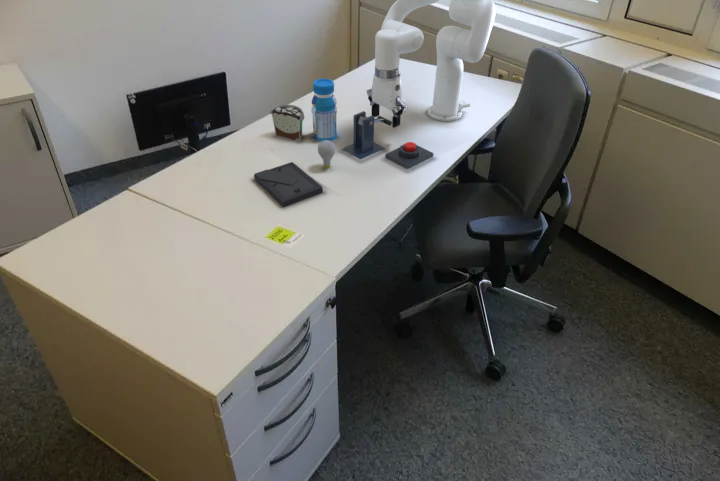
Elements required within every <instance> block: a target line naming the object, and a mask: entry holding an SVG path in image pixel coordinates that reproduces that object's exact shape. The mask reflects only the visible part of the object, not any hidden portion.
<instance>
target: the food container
mask: <svg viewBox="0 0 720 481" xmlns="http://www.w3.org/2000/svg"><path fill="white" fill-rule="evenodd" d="M269 114H270V115H271V117H272V122H273V128H274V132H275V137H278V138H282V139H286V140H290V141H295V140H296V141H297V140H301V139H302V137H303V121H305V113H304V111H303V109H302V108H301V107H299V106H297V105H293V104H280V105H276V106H273V107H272V108H270V112H269Z"/></svg>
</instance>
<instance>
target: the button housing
mask: <svg viewBox="0 0 720 481" xmlns="http://www.w3.org/2000/svg"><path fill="white" fill-rule="evenodd" d="M404 146H405V143H403V144H401V145H400V146H399V147H397V148H395V149H392V150H391V151H389V152H387V153H385V157H384V158H385V159H387V160H390V161H392V162H394V163H395V164H397V165H399V166H401V167H403V168H405V169H407V170H410V169H411V168H413V167H416V166H417V165H419V164H421V163H423V162H425V161H427V160H429V159H431V158H433V157H434V152H432V151H430V150H428V149H426V148H424V147H421V146H420V145H418V144H416V150H415V151H414V152H408V151H405V150H404Z"/></svg>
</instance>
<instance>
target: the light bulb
mask: <svg viewBox="0 0 720 481" xmlns="http://www.w3.org/2000/svg"><path fill="white" fill-rule="evenodd" d="M336 150H337V149H336V145H335V143H334V142H332V140H331V141H329V140H324V141H320V142H319V143H318V146H317V153H318V155H319V156H320V158H321V159H322V163H323V168H324V169H325V170H328V169H330V168H331V164H332V162H331V161H332V160H333V157H334V155H335V154H336Z"/></svg>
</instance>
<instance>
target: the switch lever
mask: <svg viewBox="0 0 720 481" xmlns="http://www.w3.org/2000/svg"><path fill="white" fill-rule="evenodd" d="M367 117H368V116H367V115H366V116H359V120H358V124H360V125H362V119H365V118H367ZM374 124H385V125H387V126H389V127H390V126H391V127H392V120H390V119H387V118H385V117H383V116H381V115H379V116H377V117H376V118H374Z"/></svg>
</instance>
